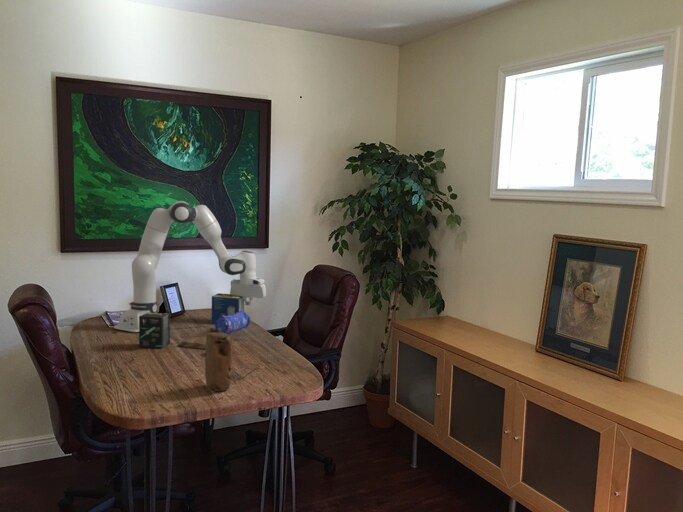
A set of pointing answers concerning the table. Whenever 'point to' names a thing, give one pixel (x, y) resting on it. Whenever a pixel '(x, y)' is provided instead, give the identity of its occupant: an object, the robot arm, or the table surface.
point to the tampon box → (154, 330)
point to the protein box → (225, 305)
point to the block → (218, 361)
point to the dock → (191, 341)
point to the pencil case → (232, 322)
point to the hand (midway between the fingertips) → (248, 305)
